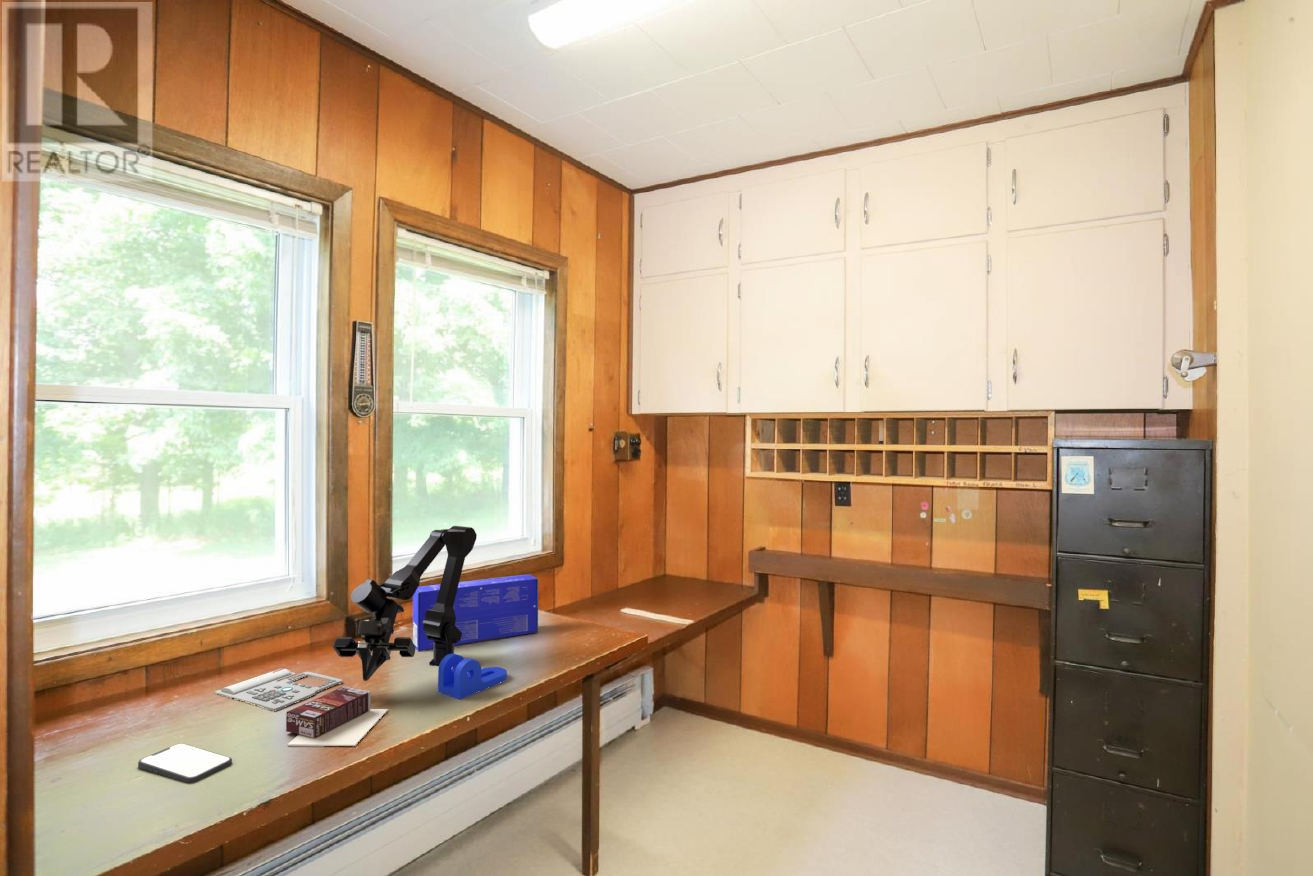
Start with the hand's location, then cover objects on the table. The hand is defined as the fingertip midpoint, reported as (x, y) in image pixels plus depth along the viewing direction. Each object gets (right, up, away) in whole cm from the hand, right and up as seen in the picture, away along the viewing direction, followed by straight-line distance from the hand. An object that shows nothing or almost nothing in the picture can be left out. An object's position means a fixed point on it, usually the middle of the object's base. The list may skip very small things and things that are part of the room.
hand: (365, 680), depth 158 cm
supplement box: (-1, -3, -2) cm, 4 cm away
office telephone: (-26, -6, +9) cm, 28 cm away
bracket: (+23, -7, +14) cm, 28 cm away
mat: (0, -6, -12) cm, 13 cm away
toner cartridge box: (+12, -7, +53) cm, 55 cm away
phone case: (-22, -6, -29) cm, 37 cm away
